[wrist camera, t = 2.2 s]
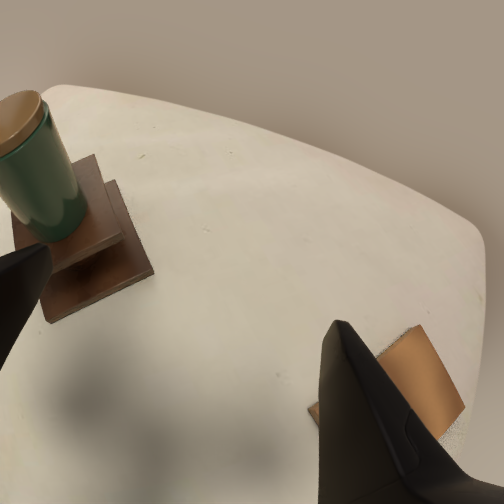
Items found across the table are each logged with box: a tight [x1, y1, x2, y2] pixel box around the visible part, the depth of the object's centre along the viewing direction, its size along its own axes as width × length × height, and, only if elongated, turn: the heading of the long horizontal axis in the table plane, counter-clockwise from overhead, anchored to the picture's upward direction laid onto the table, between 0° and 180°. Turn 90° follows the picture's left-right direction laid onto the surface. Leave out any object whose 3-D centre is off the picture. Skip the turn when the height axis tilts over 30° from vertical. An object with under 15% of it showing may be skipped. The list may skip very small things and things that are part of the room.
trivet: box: [308, 324, 465, 440], centre depth 21 cm, size 12×10×2 cm
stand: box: [11, 154, 154, 324], centre depth 21 cm, size 10×10×6 cm
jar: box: [0, 90, 87, 243], centre depth 14 cm, size 5×5×9 cm
